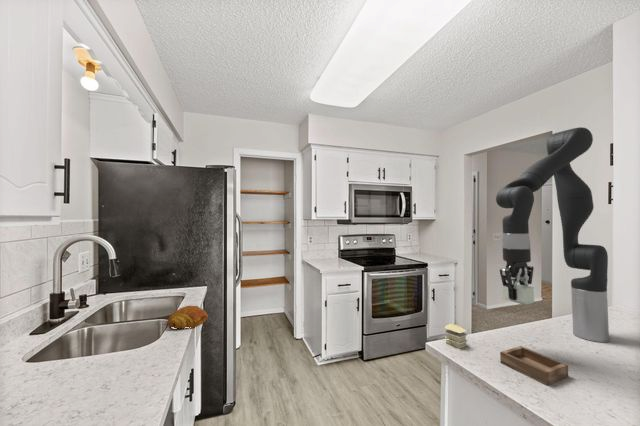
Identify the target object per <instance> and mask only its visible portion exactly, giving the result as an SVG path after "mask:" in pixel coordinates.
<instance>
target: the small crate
mask: <svg viewBox="0 0 640 426" xmlns="http://www.w3.org/2000/svg"><path fill="white" fill-rule="evenodd" d="M512 284H513V282H512ZM501 289H502V300H506V301H510V302H512V303H516V304H521V305H524V306H527V305H531V304H535V290H534V289H535V288H534V287H533V286H529V285H528V286H524V285H520V284H518V283H517V287H516V289H517V300H511V299H509V295H508V287H506V286H503V283H502V288H501Z"/></svg>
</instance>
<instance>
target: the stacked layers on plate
mask: <svg viewBox="0 0 640 426" xmlns="http://www.w3.org/2000/svg"><path fill="white" fill-rule="evenodd" d="M465 332H467V330H466V329H464V328H462V327H461V326H460V325H456V324H454V323H451V324H450V323H449V324H447V325H445V326H444V333H445V335H444V338H445V343H446V344H448V345H451V346H453V347H456V348H458V349H462V348H464V347H467V343H468V340H467V336H468V334H467V333H465ZM446 339H449V340H446Z"/></svg>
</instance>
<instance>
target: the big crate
mask: <svg viewBox="0 0 640 426" xmlns="http://www.w3.org/2000/svg"><path fill="white" fill-rule="evenodd" d="M499 354H500V364H502V365H505V366H506V367H509V368H510V369H512V370H515V371H516V372H518V373H520V374H522V375H525V376H527V377H528V378H531V379H533V380H535V381H538V382H539V383H541V384H543V385H545V386H549V385H552V384H554V383H556V382H559V381H561V380H564V379H567V378H569V365H568V364H567V363H565V362H562V361H560V360H556V359H555V358H552V357H549V356H547V355H544V354H542V353H540V352H537V351H534V350H531V349H529V348H527V347H524V346H522V345H519V346H517V347H512V348H509V349H505V350H502V351H500V352H499Z"/></svg>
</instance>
